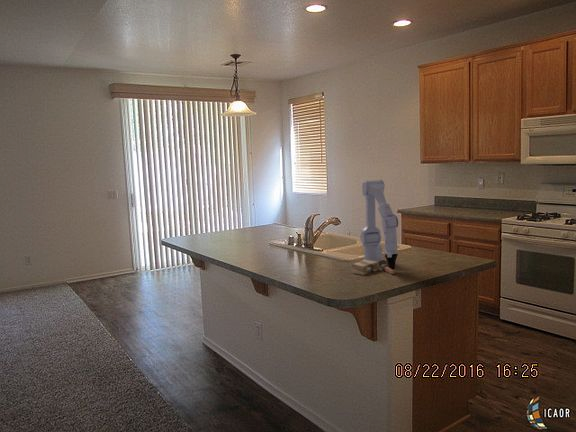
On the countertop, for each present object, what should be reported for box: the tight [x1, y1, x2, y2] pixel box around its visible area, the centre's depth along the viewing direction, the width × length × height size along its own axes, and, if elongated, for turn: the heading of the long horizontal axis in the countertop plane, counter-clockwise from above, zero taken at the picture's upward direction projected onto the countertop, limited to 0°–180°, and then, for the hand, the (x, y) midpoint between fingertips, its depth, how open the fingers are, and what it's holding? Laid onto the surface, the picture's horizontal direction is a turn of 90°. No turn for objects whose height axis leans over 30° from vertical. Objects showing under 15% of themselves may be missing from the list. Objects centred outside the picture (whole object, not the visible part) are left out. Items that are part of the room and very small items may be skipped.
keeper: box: [381, 263, 395, 275], centre depth 229 cm, size 11×3×2 cm, turn 12°
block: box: [351, 260, 380, 276], centre depth 233 cm, size 12×7×4 cm, turn 131°
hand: (392, 269), depth 228 cm, fingers closed, pressing on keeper
